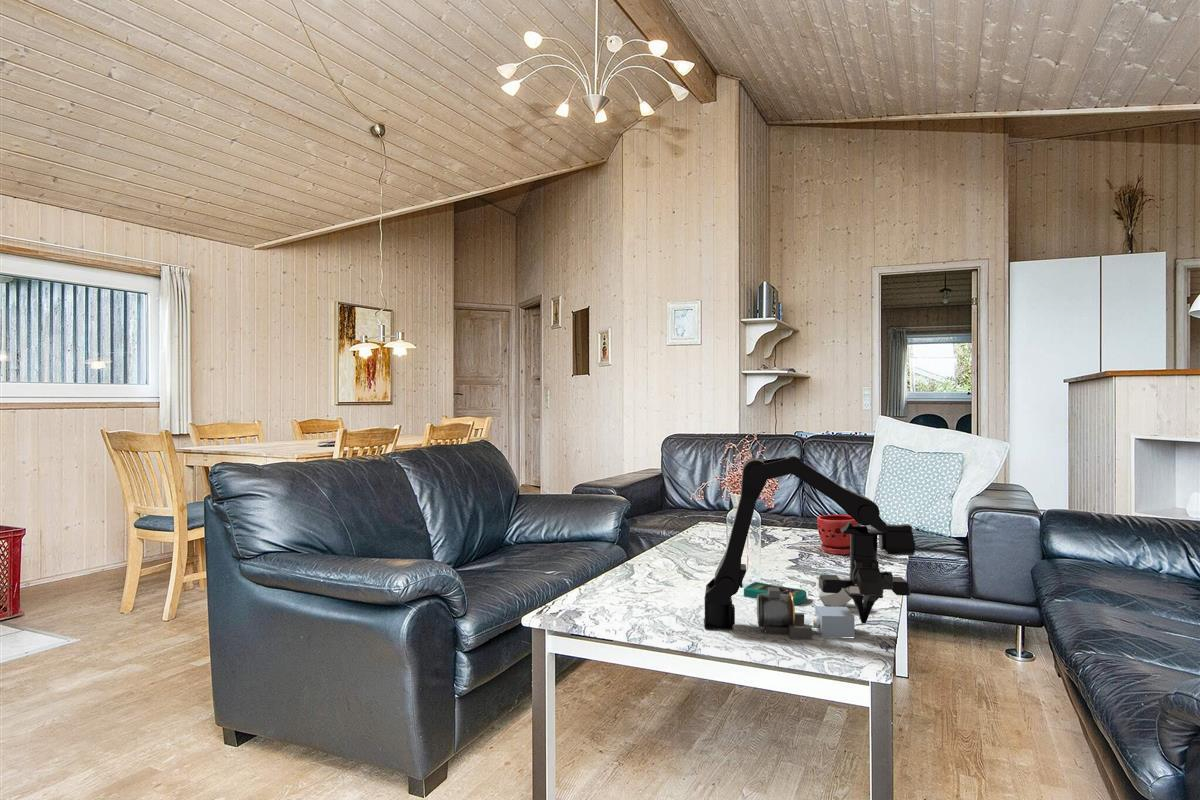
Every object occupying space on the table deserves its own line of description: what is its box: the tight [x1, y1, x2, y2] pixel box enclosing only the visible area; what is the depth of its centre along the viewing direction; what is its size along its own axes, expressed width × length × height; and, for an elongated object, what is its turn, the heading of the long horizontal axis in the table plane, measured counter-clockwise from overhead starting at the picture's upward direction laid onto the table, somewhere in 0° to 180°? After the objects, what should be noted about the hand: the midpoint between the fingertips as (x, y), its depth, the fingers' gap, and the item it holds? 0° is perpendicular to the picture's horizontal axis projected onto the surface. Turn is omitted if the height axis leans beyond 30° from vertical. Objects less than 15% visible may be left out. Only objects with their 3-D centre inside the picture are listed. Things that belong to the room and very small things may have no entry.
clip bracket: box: [788, 612, 813, 641], centre depth 159 cm, size 5×11×2 cm, turn 173°
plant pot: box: [816, 514, 859, 555], centre depth 238 cm, size 13×13×12 cm
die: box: [816, 573, 853, 607], centre depth 177 cm, size 8×9×10 cm
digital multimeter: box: [743, 581, 807, 607], centre depth 185 cm, size 8×15×3 cm, turn 53°
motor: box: [756, 587, 796, 636], centre depth 159 cm, size 8×8×9 cm
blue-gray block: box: [812, 605, 856, 639], centre depth 158 cm, size 8×7×5 cm
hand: (863, 622), depth 157 cm, fingers closed
